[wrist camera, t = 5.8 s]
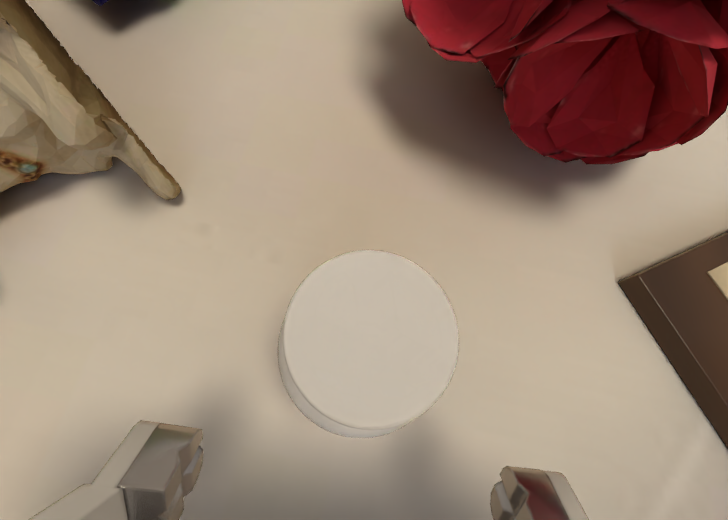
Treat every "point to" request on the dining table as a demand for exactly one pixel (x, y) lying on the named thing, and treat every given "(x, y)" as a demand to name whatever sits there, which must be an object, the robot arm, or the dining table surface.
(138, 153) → the sculpture
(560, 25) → the bouquet
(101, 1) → the toy
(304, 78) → the dining table surface
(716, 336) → the board
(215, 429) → the dining table surface
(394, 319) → the pill bottle
